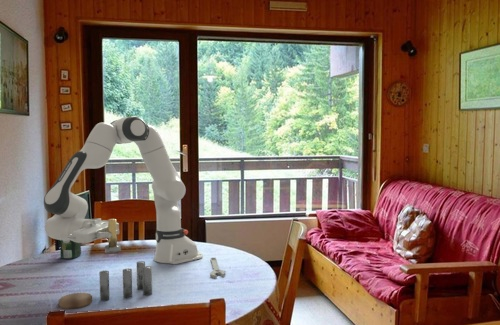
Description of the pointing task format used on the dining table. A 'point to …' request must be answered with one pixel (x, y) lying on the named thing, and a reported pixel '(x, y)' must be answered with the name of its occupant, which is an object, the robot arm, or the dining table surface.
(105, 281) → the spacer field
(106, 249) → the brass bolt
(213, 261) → the adjustable wrench
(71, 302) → the walnut plate
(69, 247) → the coffee jar
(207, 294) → the dining table surface
